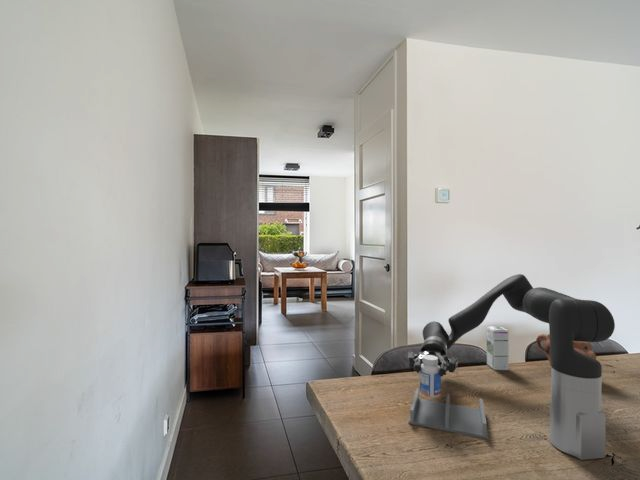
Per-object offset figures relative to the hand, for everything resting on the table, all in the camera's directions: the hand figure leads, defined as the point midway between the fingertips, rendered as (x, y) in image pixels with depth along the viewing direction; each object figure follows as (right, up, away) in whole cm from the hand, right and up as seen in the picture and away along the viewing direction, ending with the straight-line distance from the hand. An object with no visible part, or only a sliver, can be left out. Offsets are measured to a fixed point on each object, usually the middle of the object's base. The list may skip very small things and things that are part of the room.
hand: (429, 370), depth 92 cm
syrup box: (+37, -13, +37) cm, 54 cm away
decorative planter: (+58, -13, +32) cm, 67 cm away
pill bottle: (+1, -7, +2) cm, 8 cm away
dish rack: (+5, -12, 0) cm, 13 cm away
